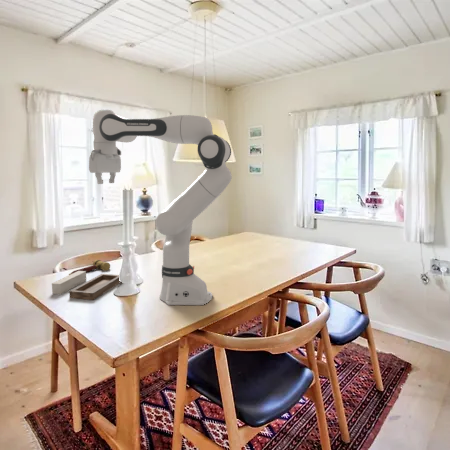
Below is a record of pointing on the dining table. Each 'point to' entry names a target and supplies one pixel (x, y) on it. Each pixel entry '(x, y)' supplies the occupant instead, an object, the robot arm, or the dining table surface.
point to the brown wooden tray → (95, 287)
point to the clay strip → (68, 282)
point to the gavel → (95, 266)
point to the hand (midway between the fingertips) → (106, 183)
